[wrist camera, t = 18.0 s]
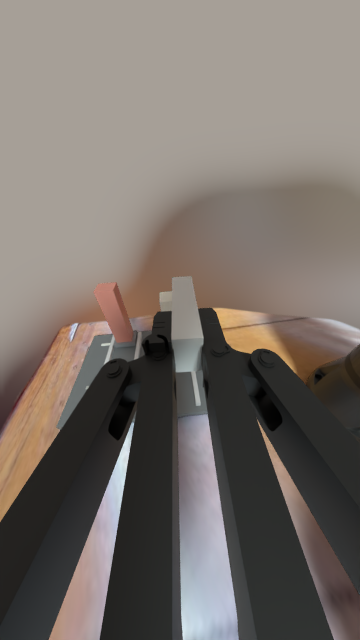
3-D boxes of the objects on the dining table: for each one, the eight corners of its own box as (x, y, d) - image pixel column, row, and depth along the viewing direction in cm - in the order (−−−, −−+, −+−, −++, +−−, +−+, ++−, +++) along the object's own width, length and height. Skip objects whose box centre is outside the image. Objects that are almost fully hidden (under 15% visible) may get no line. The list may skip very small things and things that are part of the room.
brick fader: (137, 333, 42) (120, 280, 32) (135, 345, 39) (116, 291, 29) (118, 335, 42) (95, 282, 32) (114, 347, 39) (88, 293, 29)
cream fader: (185, 344, 39) (183, 288, 29) (187, 358, 36) (186, 301, 26) (164, 346, 39) (155, 291, 29) (165, 360, 36) (154, 304, 26)
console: (206, 329, 45) (207, 322, 43) (230, 411, 29) (233, 405, 28) (96, 339, 44) (93, 333, 42) (60, 430, 28) (52, 425, 27)
